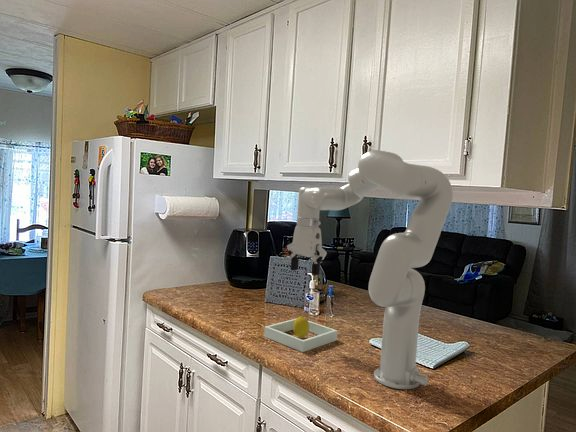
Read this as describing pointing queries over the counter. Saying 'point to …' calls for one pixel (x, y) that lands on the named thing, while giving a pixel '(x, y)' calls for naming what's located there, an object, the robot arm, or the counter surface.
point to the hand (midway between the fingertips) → (304, 272)
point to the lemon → (301, 327)
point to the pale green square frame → (276, 334)
